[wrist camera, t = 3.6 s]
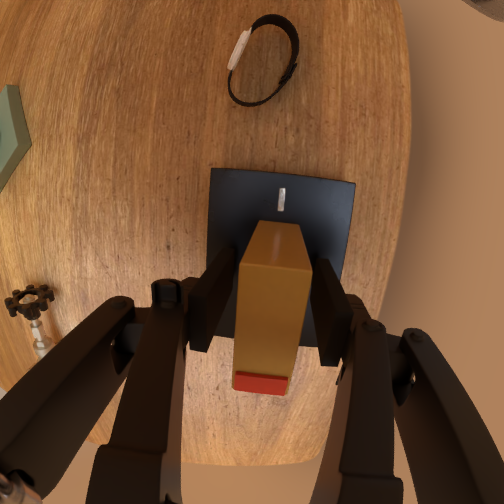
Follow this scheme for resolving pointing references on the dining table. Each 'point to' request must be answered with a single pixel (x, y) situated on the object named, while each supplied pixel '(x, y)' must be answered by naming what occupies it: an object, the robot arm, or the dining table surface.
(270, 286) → the lock knob
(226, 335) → the plate
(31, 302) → the valve
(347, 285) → the dining table surface
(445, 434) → the robot arm
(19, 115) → the doorbell
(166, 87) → the dining table surface
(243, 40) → the watch
